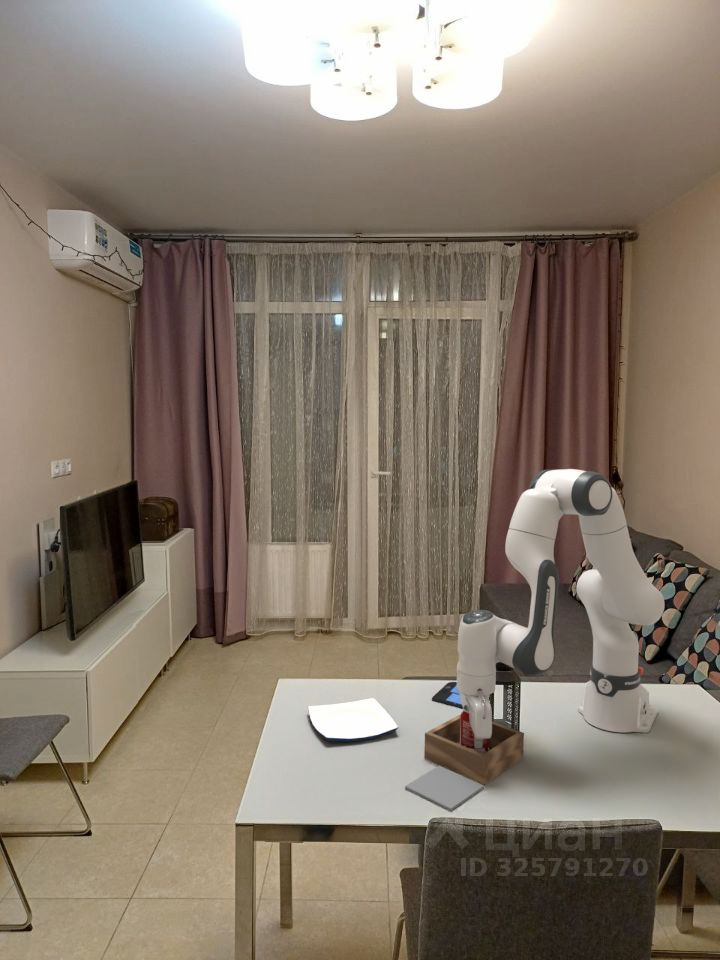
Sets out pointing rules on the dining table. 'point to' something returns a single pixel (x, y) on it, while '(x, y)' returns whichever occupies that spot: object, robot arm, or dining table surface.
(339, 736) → the plate
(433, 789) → the mat
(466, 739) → the soda can
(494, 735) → the box
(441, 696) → the game console
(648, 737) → the dining table surface
